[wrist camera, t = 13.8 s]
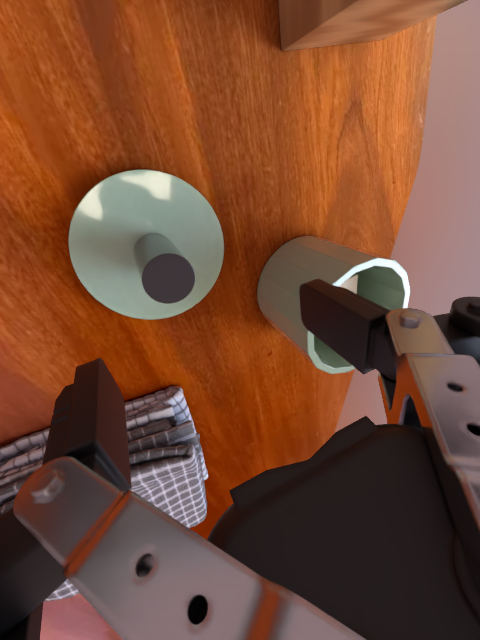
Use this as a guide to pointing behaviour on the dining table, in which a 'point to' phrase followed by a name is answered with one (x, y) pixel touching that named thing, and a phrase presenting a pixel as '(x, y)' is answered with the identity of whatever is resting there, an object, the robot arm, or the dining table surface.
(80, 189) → the dining table surface
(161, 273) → the lid
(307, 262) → the pot
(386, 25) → the stand
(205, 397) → the dining table surface
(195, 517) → the towel
